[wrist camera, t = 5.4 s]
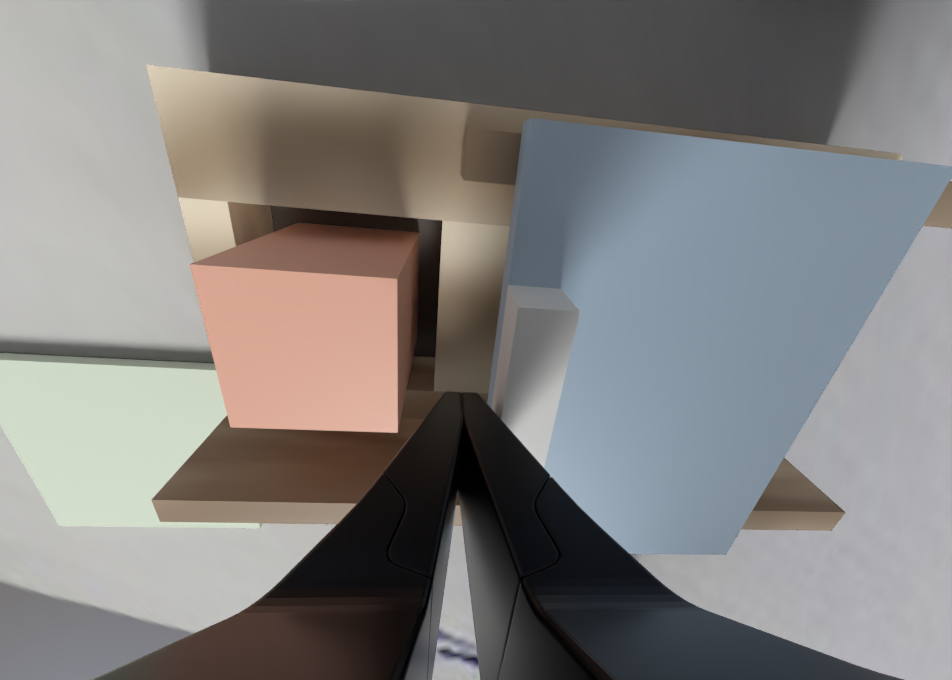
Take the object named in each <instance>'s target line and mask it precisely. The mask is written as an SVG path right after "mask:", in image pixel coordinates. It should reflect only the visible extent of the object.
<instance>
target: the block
mask: <svg viewBox="0 0 952 680" xmlns="http://www.w3.org/2000/svg"><path fill="white" fill-rule="evenodd" d="M190 268H191V272H192V276H193V280H194V284H195V288H196V292H197V296H198V300H199V304H200V308H201V312H202V316H203V320H204V324H205V328H206V332H207V336H208V340H209V344H210V348H211V352H212V356H213V360H214V364H215V368H216V372H217V376H218V380H219V384H220V388H221V392H222V396H223V400H224V404H225V408H226V412H227V416H228V420H229V424H230V427H233V428H264V429H295V430H326V431H357V432H388V433H398V429H399V424H400V419H401V414H402V410H403V405H404V400H405V395H406V390H407V385H408V380H409V375H410V370H411V365H412V360H413V355H414V351H415V346H416V341H417V320H418V275H419V232H408V231H396V230H384V229H371V228H359V227H347V226H335V225H323V224H310V223H296V224H293V225H290V226H288V227H285V228H283V229H280V230H277V231H275V232H272V233H270V234H267V235H264V236H262V237H259V238H257V239H254V240H251V241H249V242H246V243H244V244H241V245H238V246H236V247H233V248H231V249H228V250H225V251H223V252H220V253H218V254H215V255H213V256H210V257H207V258H205V259H202V260H200V261H197V262H194V263H192V264H190Z"/></svg>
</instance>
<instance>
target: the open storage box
mask: <svg viewBox="0 0 952 680" xmlns="http://www.w3.org/2000/svg"><path fill="white" fill-rule="evenodd" d="M146 66H147V71H148V75H149V79H150V83H151V87H152V91H153V95H154V99H155V104H156V108H157V112H158V116H159V120H160V124H161V128H162V132H163V137H164V141H165V145H166V149H167V153H168V157H169V161H170V165H171V170H172V174H173V178H174V182H175V186H176V190H177V194H178V198H179V203H180V207H181V211H182V215H183V219H184V223H185V227H186V231H187V236H188V240H189V244H190V248H191V252H192V256H193V260H194V262H197V261H200V260H202V259H205V258H207V257H210V256H213V255H215V254H218V253H220V252H223V251H225V250H228V249H231V248H233V247H236V246H238V245H241V244H244V243H246V242H249V241H251V240H254V239H257V238H259V237H262V236H264V235H267V234H270V233H272V232H274V227H273V220H272V213H271V206H282V207H294V208H305V209H316V210H328V211H339V212H350V213H362V214H373V215H385V216H396V217H407V218H419V219H430V220H441V221H442V238H441V257H440V277H439V297H438V317H437V336H436V356H435V357H418V356H413V360H412V365H411V370H410V375H409V380H408V385H407V390H406V395H405V400H404V405H403V410H402V414H401V419H400V424H399V429H398V433H388V432H357V431H326V430H295V429H264V428H233V427H230V424H229V420H228V416H226V417H225V418H224V419H223V420H222V421H221V423H220V424H219V425H218V426H217V427H216V428H215V429H214V430H213V431H212V433H211V434H210V435H209V436H208V437H207V438H206V439H205V440H204V442H203V443H202V444H201V445H200V446H199V447H198V448H197V449H196V450H195V452H194V453H193V454H192V455H191V456H190V457H189V458H188V459H187V461H186V462H185V463H184V464H183V465H182V466H181V467H180V468H179V469H178V471H177V472H176V473H175V474H174V475H173V476H172V477H171V478H170V480H169V481H168V482H167V483H166V484H165V485H164V486H163V487H162V488H161V490H160V491H159V492H158V493H157V494H156V495H155V496H154V497H153V499H152V500H151V501H152V503H153V506H154V508H155V511H156V513H157V515H158V518H159V520H160V522H208V523H286V524H338V523H339V522H340V521H341V520H342V519H343V518H344V517H345V515H346V514H347V513H348V512H349V511H350V510H351V509H352V508H353V507H354V506H355V505H356V504H357V503H358V501H359V500H360V499H361V498H362V497H363V495H364V494H365V493H366V492H367V491H368V490H369V488H370V487H371V486H372V485H373V483H374V482H375V481H376V479H377V478H378V477H379V476H380V474H382V473H383V471H384V469H385V468H386V467H387V466H388V464H389V463H390V462H391V460H392V459H393V458H394V457H395V455H396V454H397V453H398V452H399V450H400V449H401V448H402V446H403V445H404V444H405V443H406V441H407V440H408V439H409V437H410V436H411V435H412V434H413V432H414V431H415V430H416V428H417V427H418V426H419V425H420V423H421V422H422V421H423V419H424V418H425V417H426V416H427V414H428V413H429V412H430V411H431V409H432V408H433V407H434V405H435V404H436V403H437V402H438V400H439V399H440V398H441V396H442V395H443V394H444V393H445V392H446V391H451V392H461V393H462V392H476V393H478V394H479V395H480V396H481V397H482V398H483V399H484V401H485V402H486V403H487V401H488V393H489V386H490V378H491V370H492V362H493V354H494V347H495V339H496V331H497V323H498V315H499V308H500V300H501V292H502V284H503V276H504V269H505V261H506V253H507V245H508V237H509V229H510V222H511V214H512V206H513V198H514V190H515V183H516V175H517V167H518V159H519V151H520V144H521V136H522V128H523V122H524V121H526V120H528V119H530V118H536V119H545V120H554V121H562V122H571V123H579V124H588V125H597V126H605V127H614V128H623V129H631V130H640V131H649V132H657V133H666V134H674V135H683V136H692V137H700V138H709V139H718V140H726V141H735V142H743V143H752V144H761V145H769V146H778V147H787V148H795V149H804V150H812V151H821V152H830V153H838V154H847V155H856V156H864V157H873V158H881V159H890V160H899V161H900V160H901V158H902V157H903V155H904V154H899V153H891V152H882V151H874V150H865V149H857V148H848V147H840V146H831V145H823V144H814V143H806V142H797V141H789V140H780V139H772V138H763V137H755V136H746V135H738V134H729V133H721V132H712V131H704V130H695V129H687V128H678V127H670V126H661V125H653V124H644V123H636V122H627V121H619V120H610V119H602V118H594V117H585V116H577V115H568V114H560V113H551V112H543V111H534V110H526V109H517V108H509V107H500V106H492V105H483V104H475V103H466V102H458V101H449V100H441V99H432V98H424V97H415V96H407V95H398V94H390V93H381V92H373V91H364V90H356V89H347V88H339V87H330V86H322V85H313V84H305V83H296V82H288V81H280V80H271V79H263V78H254V77H246V76H237V75H229V74H220V73H212V72H203V71H195V70H186V69H178V68H169V67H161V66H152V65H146ZM270 205H271V206H270ZM923 226H931V227H942V228H952V182H951V181H949V183H948V184H947V186H946V188H945V189H944V191H943V193H942V194H941V196H940V198H939V199H938V201H937V203H936V204H935V206H934V208H933V209H932V211H931V213H930V214H929V216H928V218H927V219H926V221H925V223H924V224H923ZM844 514H845V512H844V511H843V510H842V509H841V508H840V507H839V506H838V505H837V504H835V503H834V502H833V501H832V500H831V499H830V498H829V497H828V496H827V495H825V494H824V493H823V492H822V491H821V490H820V489H819V488H818V487H816V486H815V485H814V484H813V483H812V482H811V481H810V480H809V479H807V478H806V477H805V476H804V475H803V474H802V473H801V472H800V471H798V470H797V469H796V468H795V467H794V466H793V465H792V464H791V463H790V462H788V461H787V460H786V459H785V458H783V460H782V462H781V463H780V465H779V467H778V468H777V470H776V472H775V473H774V475H773V477H772V478H771V480H770V482H769V483H768V485H767V487H766V488H765V490H764V492H763V493H762V495H761V497H760V498H759V500H758V502H757V503H756V505H755V507H754V508H753V510H752V512H751V513H750V515H749V517H748V518H747V520H746V522H745V523H744V525H743V527H742V528H741V529H752V530H830V531H832V529H833V528H834V527H835V525H836V524H837V523H838V522H839V520H840V519H841V518H842V516H843V515H844ZM453 526H462V519H461V510H460V502H459V494H457V501H456V508H455V516H454V523H453Z"/></svg>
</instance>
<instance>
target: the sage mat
mask: <svg viewBox="0 0 952 680" xmlns="http://www.w3.org/2000/svg"><path fill="white" fill-rule="evenodd" d="M226 416H227V412H226V408H225V404H224V400H223V396H222V392H221V388H220V384H219V380H218V376H217V372H216V368H215V364H213V363H193V362H173V361H153V360H133V359H113V358H93V357H73V356H53V355H33V354H13V353H0V425H1V427H2V429H3V430H4V432H5V434H6V436H7V437H8V439H9V441H10V442H11V444H12V446H13V447H14V449H15V451H16V453H17V454H18V456H19V458H20V459H21V461H22V463H23V465H24V466H25V468H26V470H27V471H28V473H29V475H30V476H31V478H32V480H33V482H34V483H35V485H36V487H37V488H38V490H39V492H40V494H41V495H42V497H43V499H44V500H45V502H46V504H47V505H48V507H49V509H50V511H51V512H52V514H53V516H54V517H55V519H56V521H57V523H58V524H59V526H109V527H194V528H261V526H262V524H263V523H208V522H160V520H159V518H158V515H157V513H156V511H155V508H154V506H153V503H152V501H151V500H152V499H153V497H154V496H155V495H156V494H157V493H158V492H159V491H160V490H161V488H162V487H163V486H164V485H165V484H166V483H167V482H168V481H169V480H170V478H171V477H172V476H173V475H174V474H175V473H176V472H177V471H178V469H179V468H180V467H181V466H182V465H183V464H184V463H185V462H186V461H187V459H188V458H189V457H190V456H191V455H192V454H193V453H194V452H195V450H196V449H197V448H198V447H199V446H200V445H201V444H202V443H203V442H204V440H205V439H206V438H207V437H208V436H209V435H210V434H211V433H212V431H213V430H214V429H215V428H216V427H217V426H218V425H219V424H220V423H221V421H222V420H223V419H224V418H225V417H226Z"/></svg>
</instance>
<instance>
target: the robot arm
mask: <svg viewBox="0 0 952 680" xmlns="http://www.w3.org/2000/svg"><path fill="white" fill-rule="evenodd" d="M457 494H459V502H460V510H461V519H462V527H463V536H464V544H465V553H466V561H467V570H468V578H469V587H470V595H471V604H472V612H473V621H474V629H475V638H476V646H477V655H478V663H479V672H480V680H903V679H900V678H896V677H892V676H889V675H885V674H881V673H878V672H875V671H872V670H869V669H866V668H863V667H860V666H857V665H854V664H851V663H848V662H846V661H843V660H840V659H837V658H835V657H832V656H829V655H827V654H824V653H821V652H818V651H816V650H813V649H810V648H807V647H805V646H802V645H799V644H796V643H794V642H791V641H788V640H786V639H783V638H780V637H777V636H775V635H772V634H769V633H766V632H764V631H761V630H758V629H755V628H753V627H750V626H747V625H745V624H742V623H739V622H736V621H734V620H731V619H728V618H725V617H723V616H720V615H717V614H714V613H712V612H709V611H706V610H704V609H702V608H699V607H697V606H695V605H693V604H691V603H689V602H687V601H686V600H684V599H683V598H681V597H680V596H678V595H676V594H675V593H674V592H672V591H671V590H670V589H668V588H667V587H666V586H665V585H663V584H662V583H661V582H660V581H659V580H658V579H656V578H655V577H654V576H653V575H652V574H651V573H650V572H649V571H648V570H647V569H645V568H644V567H643V566H642V565H641V564H640V563H639V562H638V561H637V560H636V559H635V558H634V557H632V556H631V555H630V554H629V553H628V552H627V551H626V550H625V549H624V548H623V547H622V546H621V545H619V544H618V543H617V542H616V541H615V540H614V539H613V538H612V537H611V536H610V535H609V534H608V533H606V532H605V531H604V530H603V529H602V528H601V527H600V526H599V525H598V524H597V523H596V522H595V521H594V520H593V519H592V518H591V517H590V516H589V515H588V514H586V513H585V512H584V511H583V510H582V509H581V508H580V507H579V506H578V505H577V504H576V502H575V501H574V500H573V499H572V498H571V497H570V496H569V495H568V494H567V493H566V492H565V491H564V490H563V489H562V487H561V486H560V485H559V484H558V483H557V482H556V481H555V480H554V478H553V477H550V474H549V473H548V472H547V471H546V470H545V468H544V467H543V466H542V465H541V464H540V463H539V462H538V461H537V459H536V458H535V457H534V456H533V455H532V454H531V453H530V452H529V450H528V449H527V448H526V447H525V446H524V445H523V444H522V442H521V441H520V440H519V439H518V438H517V437H516V436H515V435H514V433H513V432H512V431H511V430H510V429H509V428H508V427H507V425H506V424H505V423H504V422H503V421H502V420H501V419H500V418H499V416H498V415H497V414H496V413H495V412H494V411H493V410H492V409H491V407H490V406H489V405H488V404H487V403H486V402H485V401H484V399H483V398H482V397H481V396H480V395H479V394H478V393H476V392H462V393H461V392H451V391H446V392H445V393H444V394H443V395H442V396H441V398H440V399H439V400H438V402H437V403H436V404H435V405H434V407H433V408H432V409H431V411H430V412H429V413H428V414H427V416H426V417H425V418H424V419H423V421H422V422H421V423H420V425H419V426H418V427H417V428H416V430H415V431H414V432H413V434H412V435H411V436H410V437H409V439H408V440H407V441H406V443H405V444H404V445H403V446H402V448H401V449H400V450H399V452H398V453H397V454H396V455H395V457H394V458H393V459H392V460H391V462H390V463H389V464H388V466H387V467H386V468H385V469H384V471H383V473H382V474H380V476H379V477H378V478H377V479H376V481H375V482H374V483H373V485H372V486H371V487H370V488H369V490H368V491H367V492H366V493H365V494H364V495H363V497H362V498H361V499H360V500H359V501H358V503H357V504H356V505H355V506H354V507H353V508H352V509H351V510H350V511H349V512H348V513H347V514H346V515H345V517H344V518H343V519H342V520H341V521H340V522H339V523H338V524H337V525H336V526H335V527H334V528H333V529H332V530H331V531H330V532H329V533H328V534H327V535H326V536H325V537H324V538H323V539H322V540H321V541H320V542H319V543H318V544H317V545H316V546H315V547H314V548H313V549H312V550H311V551H310V552H309V553H308V554H307V555H306V556H305V557H304V558H303V559H302V560H301V561H300V562H299V563H298V564H297V565H296V566H295V567H294V568H293V569H292V570H291V571H290V572H289V573H288V574H287V575H286V576H285V577H284V578H283V579H282V580H281V581H280V582H279V583H278V584H277V585H276V586H275V587H273V588H272V589H271V590H270V591H269V592H268V593H266V594H265V595H264V596H263V597H262V598H260V599H259V600H258V601H256V602H255V603H254V604H252V605H251V606H249V607H248V608H246V609H245V610H243V611H241V612H240V613H238V614H236V615H234V616H232V617H230V618H228V619H226V620H223V621H221V622H219V623H217V624H214V625H212V626H210V627H208V628H205V629H203V630H201V631H199V632H197V633H194V634H192V635H190V636H188V637H185V638H183V639H181V640H179V641H177V642H174V643H172V644H170V645H168V646H165V647H163V648H161V649H159V650H157V651H154V652H152V653H150V654H148V655H145V656H143V657H141V658H139V659H136V660H134V661H132V662H130V663H128V664H125V665H124V666H121V667H119V668H116V669H114V670H112V671H110V672H108V673H105V674H103V675H101V676H99V677H96V678H94V679H92V680H432V674H433V667H434V660H435V652H436V645H437V638H438V631H439V624H440V616H441V609H442V602H443V595H444V588H445V580H446V573H447V566H448V559H449V552H450V544H451V537H452V530H453V523H454V516H455V508H456V501H457Z"/></svg>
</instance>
